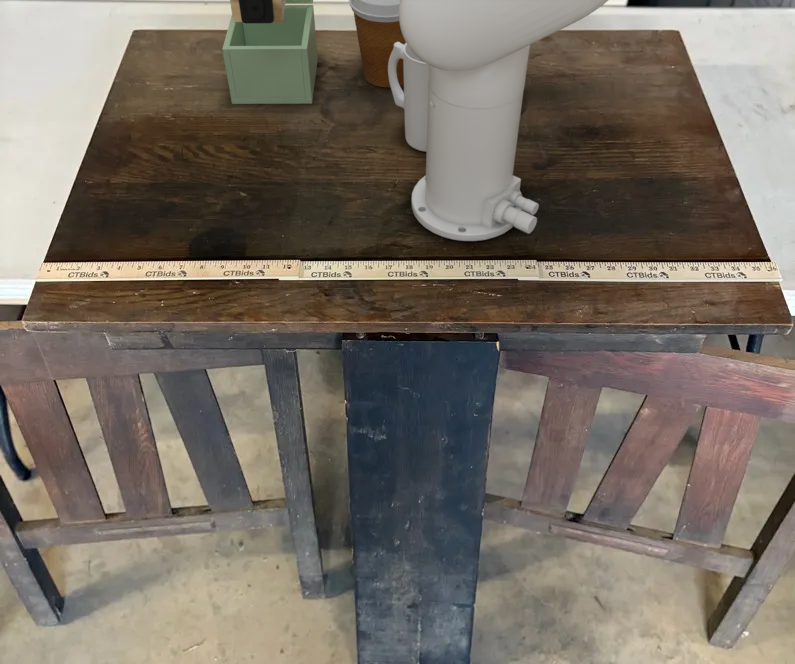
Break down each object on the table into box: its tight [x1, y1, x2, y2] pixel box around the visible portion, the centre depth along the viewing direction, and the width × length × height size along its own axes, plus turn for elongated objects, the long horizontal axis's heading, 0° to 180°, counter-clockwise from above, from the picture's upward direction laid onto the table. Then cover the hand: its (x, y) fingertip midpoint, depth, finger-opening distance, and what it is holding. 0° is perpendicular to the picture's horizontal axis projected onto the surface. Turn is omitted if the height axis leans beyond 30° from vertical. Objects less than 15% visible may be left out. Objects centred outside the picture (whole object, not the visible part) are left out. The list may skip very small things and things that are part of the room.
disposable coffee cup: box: [348, 0, 406, 88], centre depth 105 cm, size 10×10×12 cm
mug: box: [388, 42, 429, 153], centre depth 96 cm, size 10×7×12 cm, turn 50°
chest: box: [221, 4, 319, 105], centre depth 106 cm, size 12×11×8 cm
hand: (260, 6), depth 82 cm, fingers closed on block, 5 cm apart
